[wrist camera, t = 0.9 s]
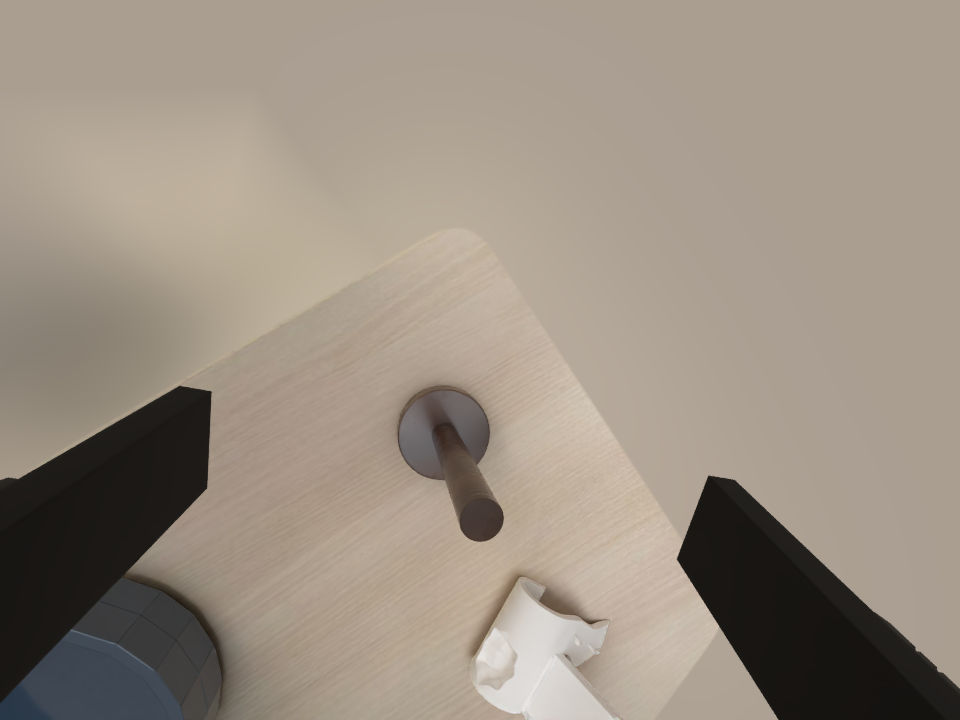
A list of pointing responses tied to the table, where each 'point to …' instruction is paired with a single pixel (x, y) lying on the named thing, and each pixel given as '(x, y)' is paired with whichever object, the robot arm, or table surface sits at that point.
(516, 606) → the plastic part
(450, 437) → the wooden stand
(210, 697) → the mixing bowl
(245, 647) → the table surface
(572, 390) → the table surface
